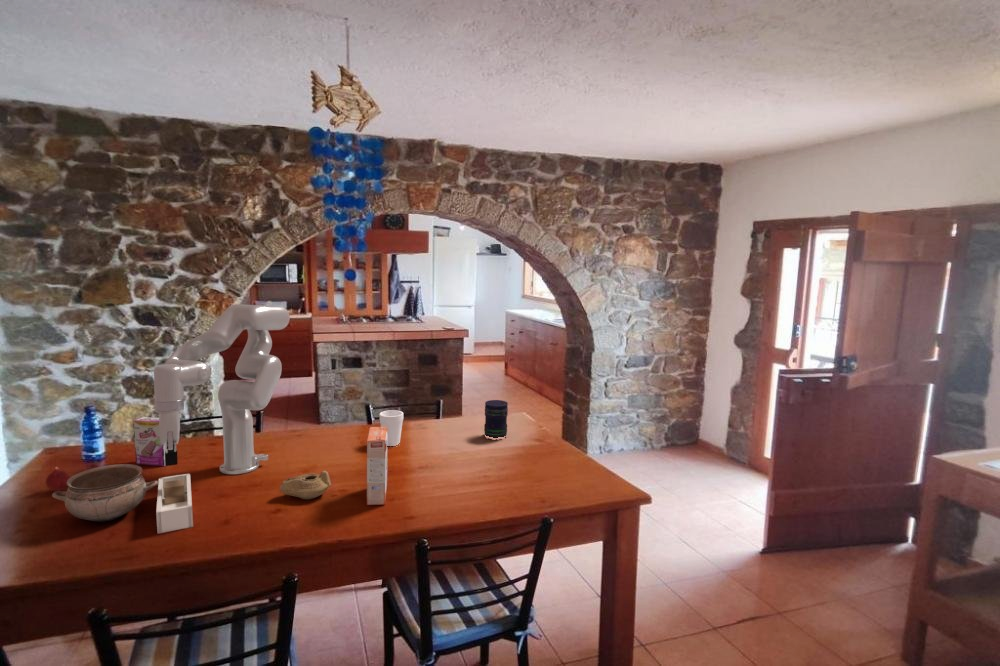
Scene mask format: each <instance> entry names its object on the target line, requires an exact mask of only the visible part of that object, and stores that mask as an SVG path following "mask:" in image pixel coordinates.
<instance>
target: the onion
mask: <svg viewBox="0 0 1000 666" xmlns="http://www.w3.org/2000/svg"><path fill="white" fill-rule="evenodd" d="M69 478H71V477H70V474H69V473H68V472H67V471H66V470H64V469H61V468H59V467H58V466H55V468H54V470H53V471H51V472H50V473H49V474H48V475H47V477H46V480H45V485H46V487H47V488H48V489H50V490H51V491H54V492H57V491H62V490H64V489H65V488H66V487H67V486H68V485H67V484H66V483H67V480H68V479H69Z"/></svg>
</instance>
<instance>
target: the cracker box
mask: <svg viewBox="0 0 1000 666" xmlns="http://www.w3.org/2000/svg"><path fill="white" fill-rule="evenodd" d="M387 441H388V438H387V427H381V426H370V427H369V431H368V437H367V440H366V505H367V506H379V505H380V506H381V505H386V498H387V489H388V488H387V487H388V447H387Z"/></svg>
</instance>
